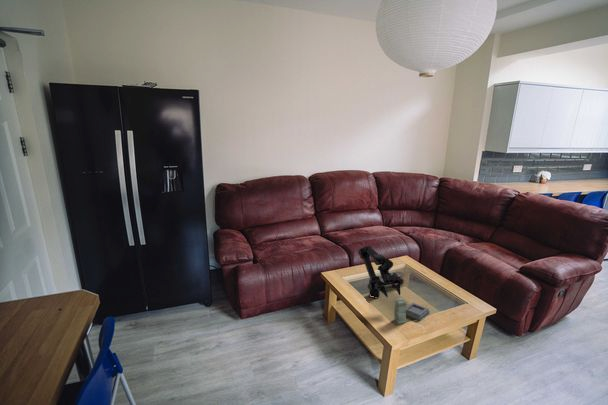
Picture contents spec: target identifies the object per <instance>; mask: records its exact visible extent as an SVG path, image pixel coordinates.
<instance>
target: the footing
mask: <svg viewBox="0 0 608 405" xmlns="http://www.w3.org/2000/svg"><path fill="white" fill-rule="evenodd" d="M430 312H431V310H430V309H429V308H428V307H426V306H423V305H421V304H417V303H415V302H412V303H410V304H409V305H406V317H407V316H408V317H410V318H411V319H415V320H416V321H419V322H421V321H422V320H424V319H425V318H426V317H427V316H429V315H430ZM423 318H424V319H423Z"/></svg>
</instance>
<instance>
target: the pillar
mask: <svg viewBox="0 0 608 405" xmlns="http://www.w3.org/2000/svg"><path fill="white" fill-rule="evenodd" d="M393 305H394V307H393V308H394V312H393V314H394V315H393V316H394V318H393V319H394V321H395V322H396V323H397V324H398V325H400V324H406V323H407V322H406V321H407V315H406V307H407V302H406V300H405V299H403V298H402V297H401V298H396V299H395V298H394V304H393Z"/></svg>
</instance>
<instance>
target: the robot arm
mask: <svg viewBox="0 0 608 405" xmlns="http://www.w3.org/2000/svg"><path fill="white" fill-rule="evenodd" d="M357 254H358V255H359V258H360V259H361V260H362V261H363V263H364V266H365V268H366V271H367V274H368V277H369V280H368V284H367V289H368V290H369V295H370V294H371V296H374V297H378V298H379V297H380V295H381V293H382V294H383V295H384V296H385V297H386V298H389V296H388V293H387V291H386V286H392V285H391V284H394V285H396V286H395V288H394V289H396V291H397V294H398V296H401V286H402V285H403V284H402V283H403V280H404V279H403V278H399V279H396V278H398V275H397V273H398V272H389V271H390V270H391V269H392V268H393V267H394V261H392V260H391V259H389V258H387V257H385V256H384V255H383V254H379V253H378V252H377V251H375V249H374V248H373V246H371V245H367V246H364V247H361V248H359V249H358V251H357ZM370 257H371V258H372V260H373V263H374V264H375V266H378V267H377V270H378V271H379V273H380V276H377V275H376V272H375V270H374V267H373V264H372V261H371V258H370ZM391 273H393V275H391ZM381 279H382V280H381ZM394 279H396V280H395V281H393V280H394ZM402 279H403V280H402ZM401 284H402V285H401Z"/></svg>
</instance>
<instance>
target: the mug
mask: <svg viewBox="0 0 608 405" xmlns="http://www.w3.org/2000/svg"><path fill="white" fill-rule="evenodd" d="M390 273H391V275H393V273H394V272H390ZM396 273H397V275H398V278H396V279H399V278H401V275H402V274H400V273H398V272H396ZM396 279H394V280H393V281H395V280H396ZM401 279H402V280H403V283H402V284H401V285H400V286H402V285H404V283H405V281H404V279H403V278H401ZM390 286H391V287H392V288H394V289H396V288H395V286H396V285H394V284H391V285H390Z"/></svg>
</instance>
